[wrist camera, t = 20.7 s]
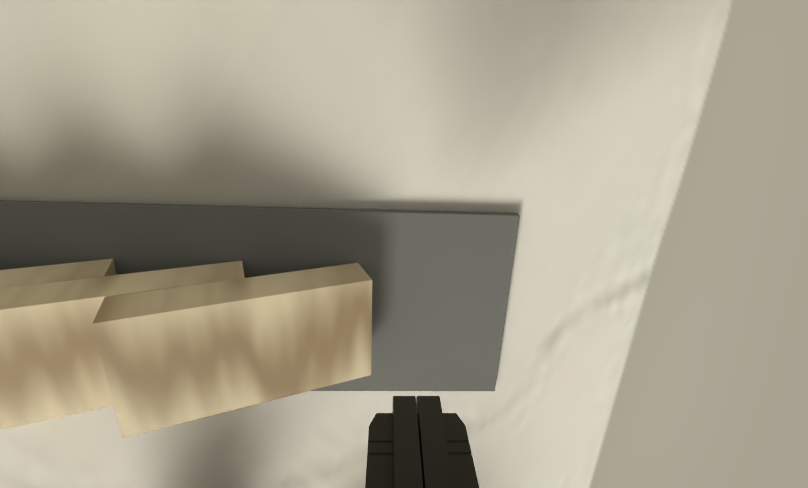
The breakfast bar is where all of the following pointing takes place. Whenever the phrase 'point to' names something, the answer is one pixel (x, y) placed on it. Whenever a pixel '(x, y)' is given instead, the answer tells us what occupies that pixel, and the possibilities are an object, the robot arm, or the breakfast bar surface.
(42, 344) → the light wooden block
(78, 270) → the tile
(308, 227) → the mat
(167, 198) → the breakfast bar surface
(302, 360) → the tile
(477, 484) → the robot arm
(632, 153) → the breakfast bar surface
